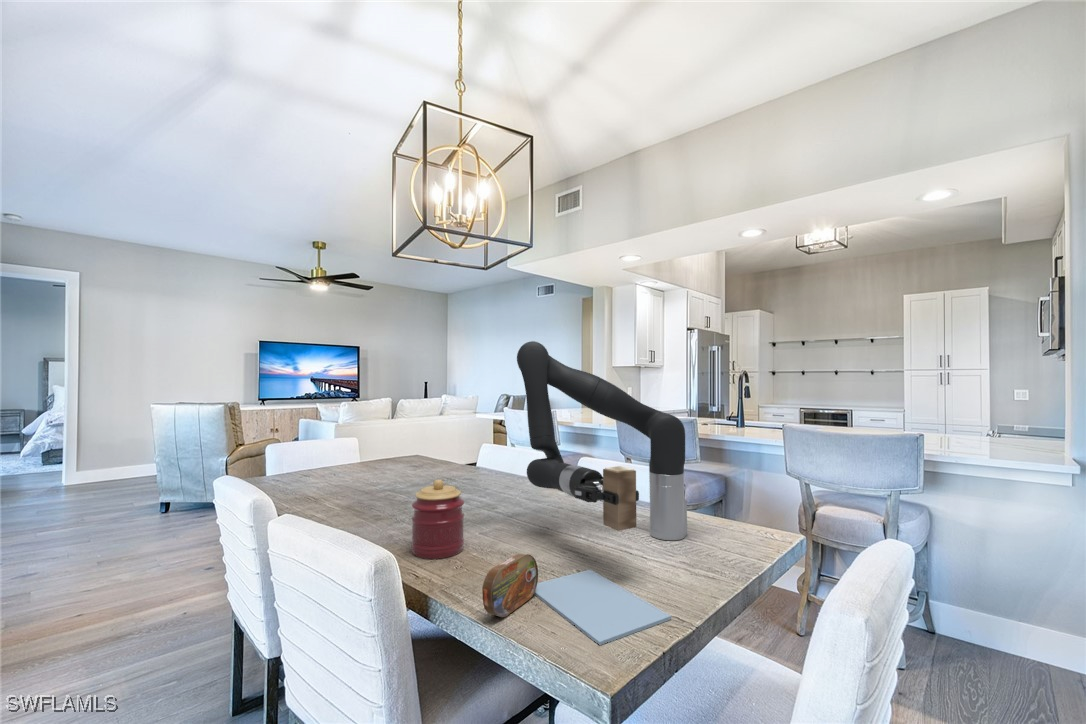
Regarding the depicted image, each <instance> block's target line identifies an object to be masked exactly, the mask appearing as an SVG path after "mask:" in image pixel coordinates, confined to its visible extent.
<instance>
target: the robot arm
mask: <svg viewBox="0 0 1086 724" xmlns="http://www.w3.org/2000/svg"><path fill="white" fill-rule="evenodd" d="M516 362H517V366H518V369H519V370H520V373H521V375H522V376H521V377H522V380H523V384H524V390H525V396H526V411H527V427H528V435H529V443H530V446H531V449H532V450H536V451H541V452H542V453H544V454H545V457H546V458H543V457H542V458H536V459H533V460H531V461H530V462H529V464H528V465H527V468H526V476H527V479H528V480H529V482H530V483H531V484H532V485H533V486H535V487H537V488H542V489H553V490H557V491H560V492H563V493H565V494H567V495H568V496H570V497H573V498H575V499H578V500H581V501H583V502H586V503H597V502H600V503H603V502H608V503H611V504H614V505H617V504H618V503H619V496H618V494H616V493H613V492H610V491H605V489H603V474H601V473H600V472H599V471H598V470H596V469H593V468H589V467H585V466H580V465H575V464H574V465H573V464H570V463H565V462H564V461H565V460H564V459H563V457H562V454H561V452H560V449H559V447H558V444H557V441H556V434H555V425H554V419H553V413H552V412H553V411H552V406H551V403H550V396H549V387H548V386H550V387H553V388H555V389H557V390H558V391H561V393H563V394H565V395H566V396H568V397H569V398H571V399H572V400H574V401H575V402H578V403H579V404H581V405H582V406H584V407H586V408H588V409H589V410H592V411H594V412H595V413H596V414H597V413H598V414H599V415H602V416H604V417H607V418H610V419H611V420H615V421H616V422H617V421H618V422H621V423H623V424H626V425H627V426H630V427H632V428H634V429H635V430H636V431H638V432H639V433H641V434H643V435H645V436H646V438H648V439H650V440H649V441H650V459H649V463H648V465H649V466H648V469H649V470H648V471H649V474H648V475H649V476H648V479H649V535H650V536H652V537H653V538H655V539H658V540H663V541H679V540H683V539H684V538H685V537H686V536H688V504H687V503H688V501H687V500H686V499H685V479H684V478H685V477H684V476H685V475H684V474H685V473H684V471H685V470H684V469H685V465H686V463H685V462H686V430H685V426H684V424H683V422H682V421H681V419H680V418H678V417H677V416H675V415H673V414H670V413H667V412H663V411H661V410H658V409H655V408H653V407H650V406H649V405H646V404H644V403H641V402H640V401H638V400H637V399H635V398H634V397H633V396H631V395H630V394H628V393H627V392H626V391H624V390H623V389H621V388H620V387H618V386H617V385H615V384H613V383H611V382H610V381H607V380H605V379H604V378H601V377H600V376H598V375H597V374H593V373H590V372H588V371H584V370H580V369H576V368H573V367H570V366H568V365H565V364H564V363H562V362H561V361H559V360H557V359H555V358H554V357H552V356H551V355H549V352H548V350H547V348H546V347H545V346H544V344H542V343H540V342H538V341H534V340H532V341H527V342H525V343H524V344H522V345H521V346H520V348H519V349H518V351H517V354H516ZM639 500H640V491H638V490H637V489H636V502H638V501H639Z"/></svg>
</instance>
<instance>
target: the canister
mask: <svg viewBox="0 0 1086 724" xmlns="http://www.w3.org/2000/svg"><path fill="white" fill-rule="evenodd" d="M444 484H445V483H444V481H443V480H442V479H435V480H434V481H433V483H432V485H428V486H424V487H423V488H421V489H420V490H419V491H418V492H416V493H415V495H414V496H415V498H416V500H415V501H413V502H412V503H411V507H412V509H413V515H412V516H411V521H412V522H411V525H412V526H411V532H412V533H411V535H412V536H411V539H412V540H411V544H410V545H411V550H412V554H413V555H414V556H416V557H418V558H422V559H426V560H427V559H429V560H431V559H432V560H433V559H434V560H435V559H443V558H448V557H452V556H455V555H457V554H460V552H462V551H463V550H464V545H465V537H464V517H465V513H464V512H463V506H464V504H465V500H464V499H463V498H461V494H462V491H461V490H459V489H457V488H456V487H455V486H453V485H447V484H445V485H444Z"/></svg>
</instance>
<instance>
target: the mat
mask: <svg viewBox="0 0 1086 724" xmlns="http://www.w3.org/2000/svg"><path fill="white" fill-rule="evenodd" d="M533 596H535V597H537V598H538V599H539V600H540V601H542V602H543V603H545V604H546V605H547V606H548V607H549V608H551V609H552V610H553V609H554V610H553V611H554V612H556V613H557V614H558V613H559V614H558V615H560V616H561V617H562V618H564V619H565V620H566V621H567V622H569V624H571V623H572V624H571V625H572V626H574V625H575V626H574V627H575V628H576V627H577V628H576V629H578V630H579V631H580V630H581V631H582V632H581V631H580V632H581V633H583V634H584V635H585V636H586V637H588V638H589V639H590V638H591V641H593V642H594V641H595V642H596V644H597V643H598V644H599V645H600V646H602V645H601V644H603V645H605V644H604V643H606V644H608V643H611V642H614V641H616V639H617V640H619V639H622V638H624V637H628V636H630V635H633V634H635V633H638V632H641V631H643V630H646V629H649V628H652V627H654V626H657V625H659V624H662V623H665V622H667V621H670V620H672V615H671V614H669V613H667V612H665V611H663V610H661V609H660V608H658V607H657V606H654V605H653V604H651V603H649V602H648V601H646V600H644V599H642V598H641V597H639V596H637V595H635V594H634V593H632V592H630V591H628V590H627V589H625V588H624V587H622V586H620V585H618V584H616V583H615V582H612V581H611V580H610V579H608V578H606V577H605V576H602V575H600V574H599V573H597V572H595V571H593V570H592V569H587V570H584V571H580V572H576V573H572V574H567V575H563V576H560V577H556V578H552V579H549V580H544V581H542V582H537V587H536V590H535V592H534V594H533ZM613 640H614V641H613ZM610 641H611V642H610ZM595 642H594V643H595ZM607 642H608V643H607ZM598 644H597V645H598ZM599 645H598V646H599Z"/></svg>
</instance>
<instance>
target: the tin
mask: <svg viewBox="0 0 1086 724" xmlns="http://www.w3.org/2000/svg"><path fill="white" fill-rule="evenodd" d="M538 581H539V567H538V564H537V561H536V559H535V558H534V556H533V555H531V554H528V553H526V554H523V553H522V554H521V553H519V554H515V555H513V556H512V557H510V558H507V559H506V560H504V561H503V562H501V563H499V564H497V565H496V566H494V567H492V568H491V569H490V570H489V571H488V573H487V574H486V575H485V577H484V579H483V584H482V591H481V592H482V593H481V594H482V602H483V603H482V604H483V608H484V610H485V611H486V612H487V614H489V615H491V616H497V617H500V618H506V617H508V616H509V615H510V614H512V613H513V612H514V611H516V610H517V609H518V608H520V607H521V606H522V605H524V604H526V603H527V602H528V601H529V600H531V598H533V596H534V592H535V590H536V587H537V583H539V582H538Z"/></svg>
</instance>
